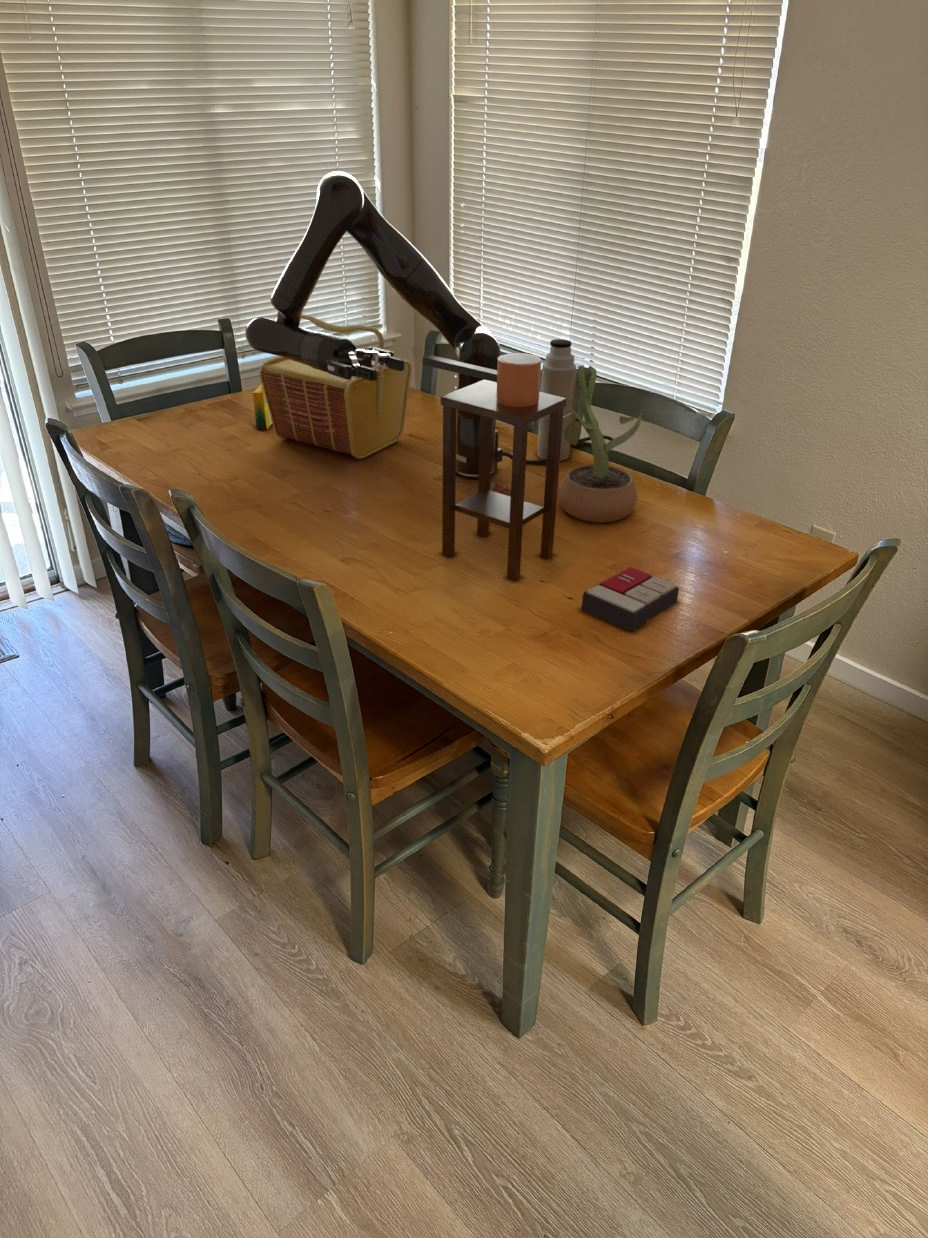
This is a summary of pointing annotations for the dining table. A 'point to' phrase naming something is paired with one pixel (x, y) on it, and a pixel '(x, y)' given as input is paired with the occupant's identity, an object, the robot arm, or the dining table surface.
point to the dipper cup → (502, 376)
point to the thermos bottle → (557, 391)
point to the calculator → (629, 598)
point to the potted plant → (596, 467)
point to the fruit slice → (500, 489)
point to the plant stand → (488, 502)
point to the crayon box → (261, 409)
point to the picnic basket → (336, 402)
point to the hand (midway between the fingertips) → (389, 370)
